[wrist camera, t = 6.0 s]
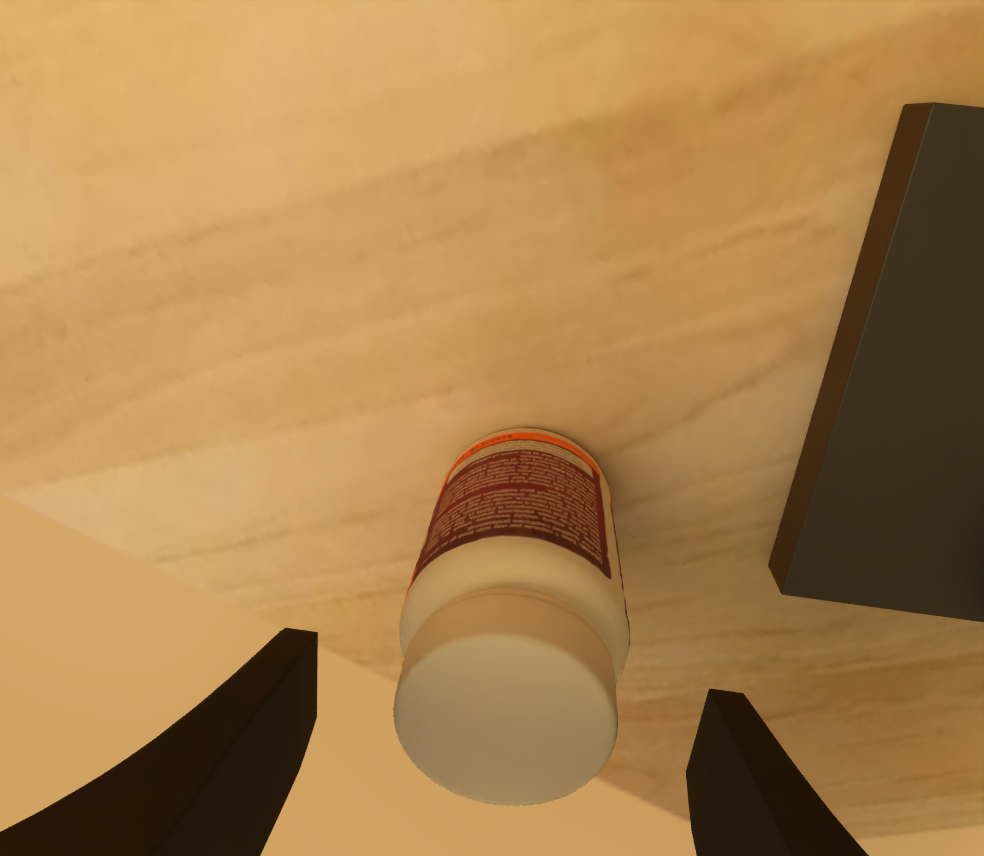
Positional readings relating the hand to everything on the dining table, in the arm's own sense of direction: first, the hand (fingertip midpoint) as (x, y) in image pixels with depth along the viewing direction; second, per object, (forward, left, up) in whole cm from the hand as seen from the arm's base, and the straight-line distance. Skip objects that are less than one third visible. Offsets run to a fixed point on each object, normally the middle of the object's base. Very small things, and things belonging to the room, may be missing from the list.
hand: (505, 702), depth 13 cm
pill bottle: (0, 0, -8) cm, 8 cm away
